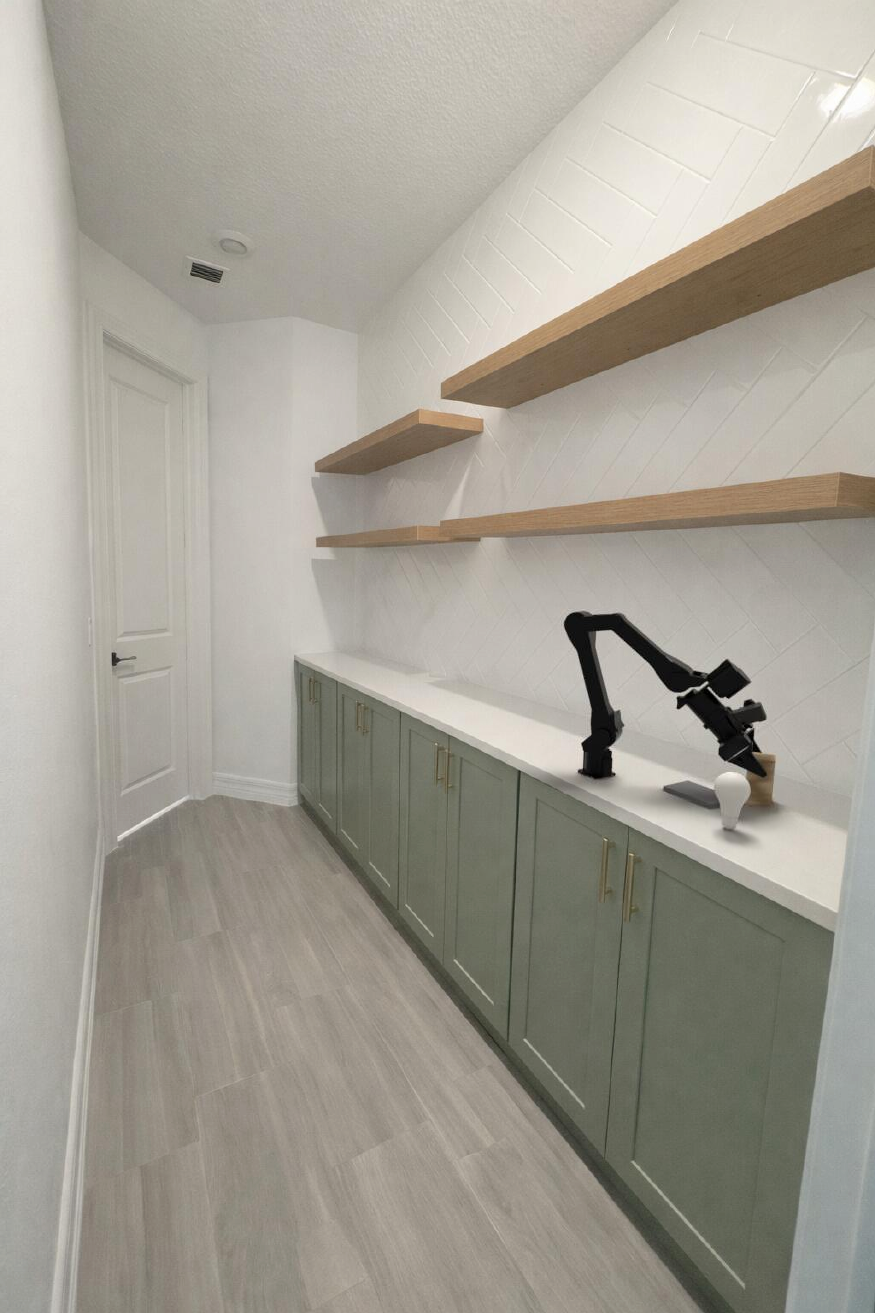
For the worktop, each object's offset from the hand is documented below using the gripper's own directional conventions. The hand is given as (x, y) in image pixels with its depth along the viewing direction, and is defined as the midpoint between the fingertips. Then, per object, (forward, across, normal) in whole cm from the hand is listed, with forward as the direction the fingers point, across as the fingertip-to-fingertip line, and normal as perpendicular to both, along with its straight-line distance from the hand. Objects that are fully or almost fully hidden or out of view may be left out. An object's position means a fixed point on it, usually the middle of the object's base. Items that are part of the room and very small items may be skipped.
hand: (765, 770), depth 125 cm
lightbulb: (+1, -18, +9) cm, 21 cm away
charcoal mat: (-4, -3, +14) cm, 14 cm away
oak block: (+4, 0, +6) cm, 7 cm away
